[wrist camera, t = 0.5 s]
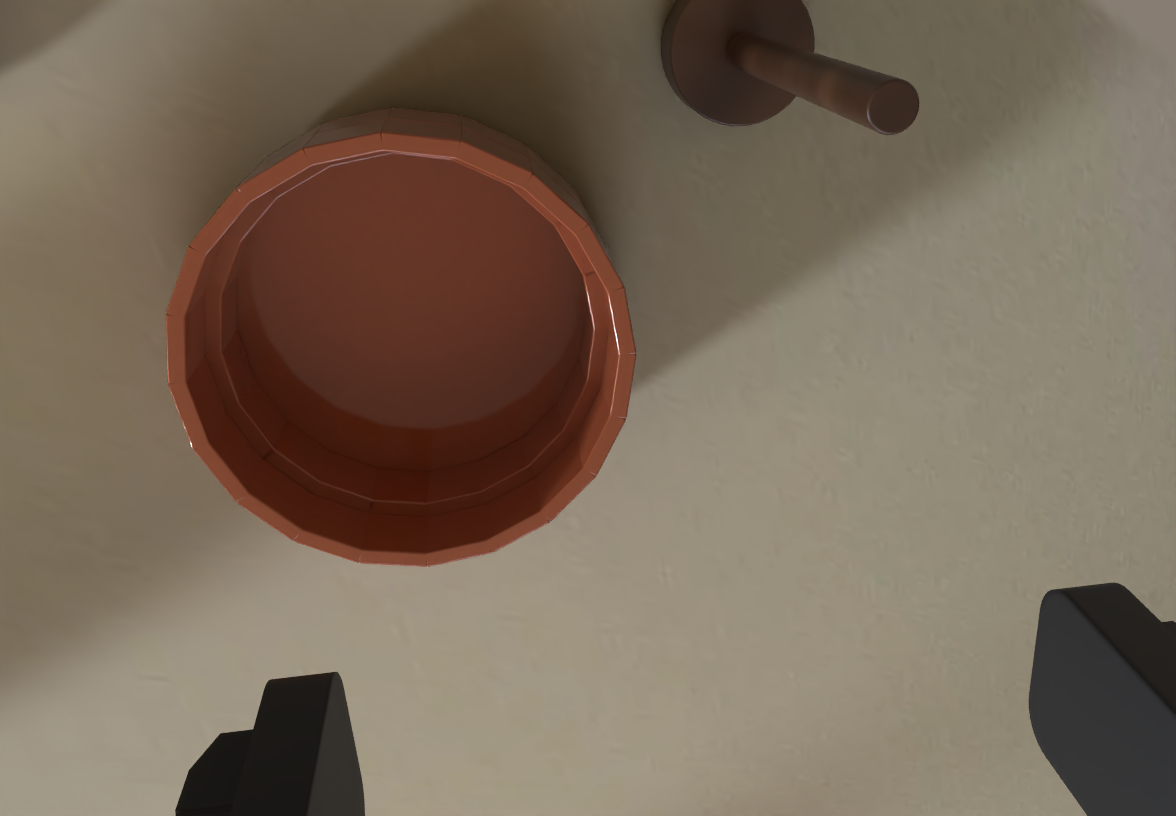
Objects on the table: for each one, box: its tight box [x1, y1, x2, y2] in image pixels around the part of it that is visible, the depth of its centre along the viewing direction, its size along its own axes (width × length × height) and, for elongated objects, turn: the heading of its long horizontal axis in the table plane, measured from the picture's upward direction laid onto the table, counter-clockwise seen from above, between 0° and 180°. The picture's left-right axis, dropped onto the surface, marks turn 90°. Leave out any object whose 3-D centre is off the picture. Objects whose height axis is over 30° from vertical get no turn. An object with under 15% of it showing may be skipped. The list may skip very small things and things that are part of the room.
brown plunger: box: [661, 0, 919, 135], centre depth 30 cm, size 5×5×16 cm
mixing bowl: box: [166, 107, 636, 567], centre depth 38 cm, size 15×15×6 cm
